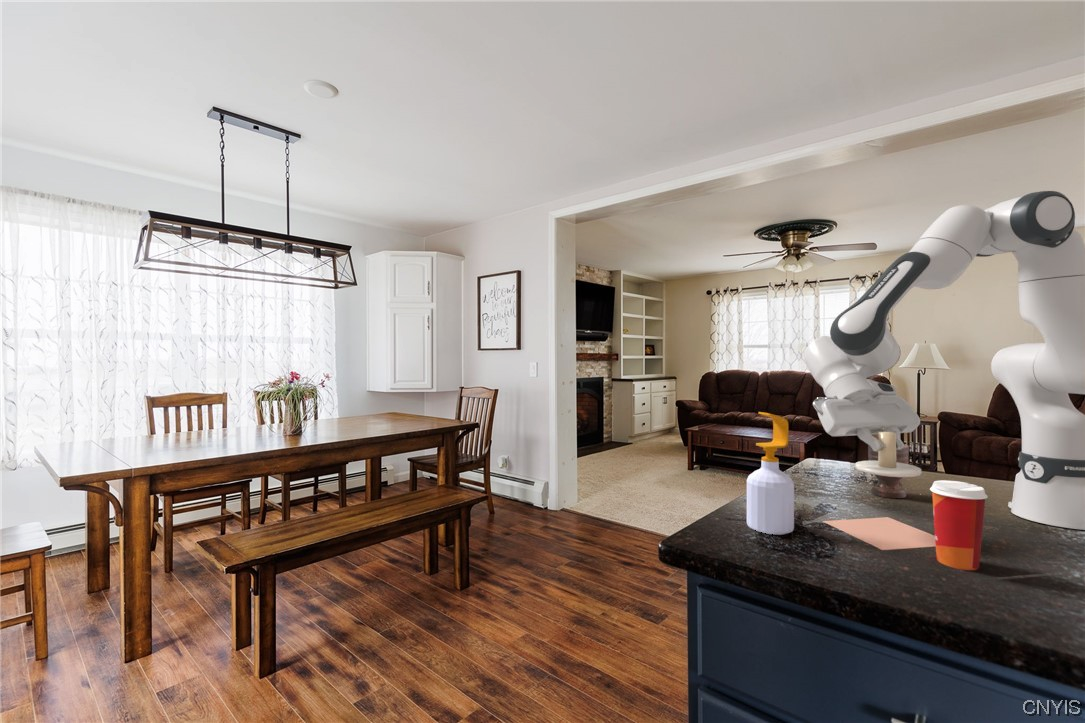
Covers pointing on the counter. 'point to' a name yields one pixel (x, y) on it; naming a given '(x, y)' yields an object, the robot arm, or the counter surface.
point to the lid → (888, 460)
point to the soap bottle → (771, 487)
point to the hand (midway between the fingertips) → (889, 448)
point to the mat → (885, 533)
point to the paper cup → (958, 523)
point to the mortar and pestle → (886, 483)
